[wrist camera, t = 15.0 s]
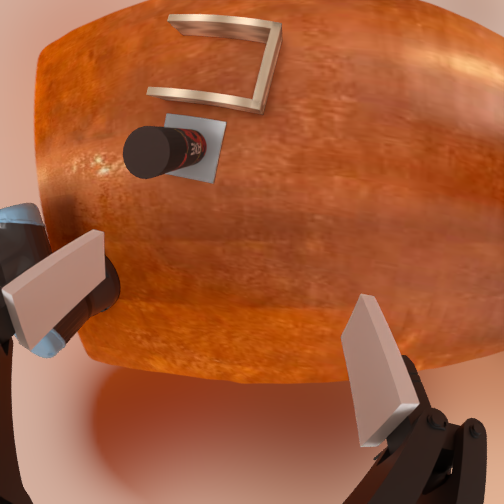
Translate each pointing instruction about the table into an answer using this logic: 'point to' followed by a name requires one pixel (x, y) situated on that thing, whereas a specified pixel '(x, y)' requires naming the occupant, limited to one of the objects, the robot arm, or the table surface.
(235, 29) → the bay
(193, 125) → the mat
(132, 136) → the deodorant
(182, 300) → the table surface
